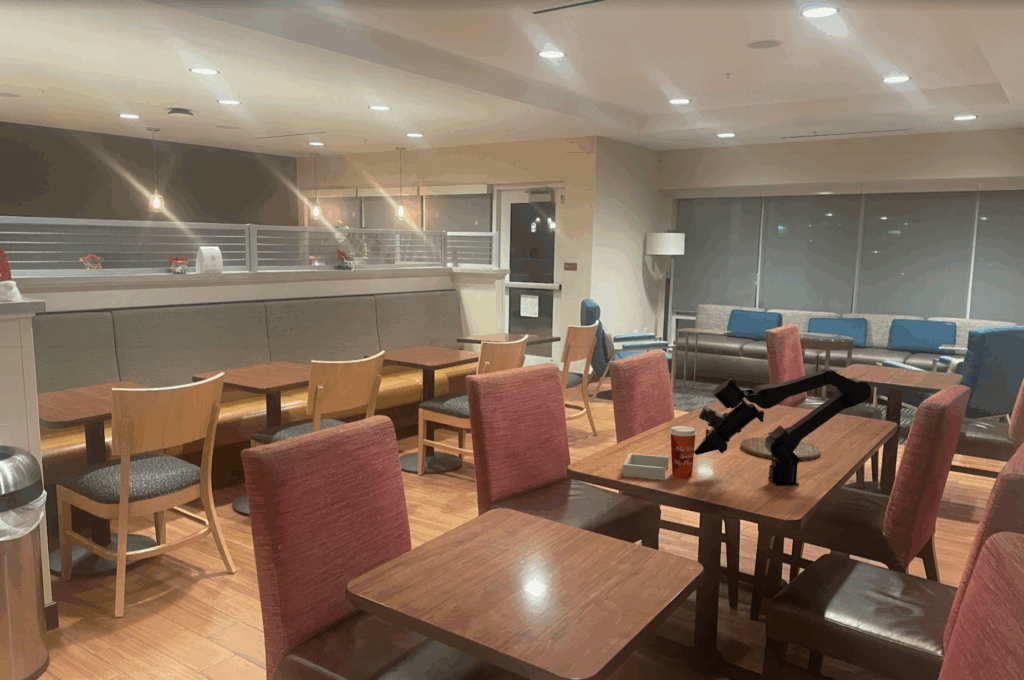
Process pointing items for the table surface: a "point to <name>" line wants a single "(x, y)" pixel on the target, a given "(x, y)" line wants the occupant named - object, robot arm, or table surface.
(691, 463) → the paper cup
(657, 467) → the tray
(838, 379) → the robot arm
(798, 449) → the trivet
